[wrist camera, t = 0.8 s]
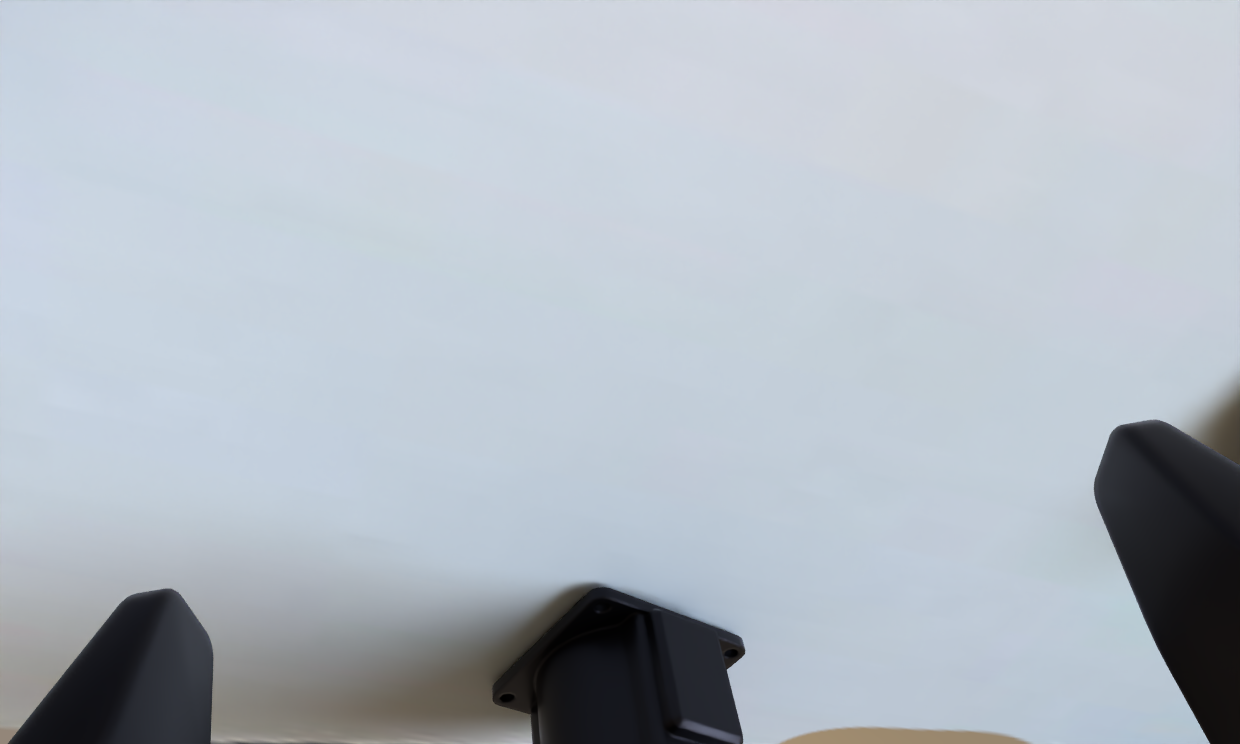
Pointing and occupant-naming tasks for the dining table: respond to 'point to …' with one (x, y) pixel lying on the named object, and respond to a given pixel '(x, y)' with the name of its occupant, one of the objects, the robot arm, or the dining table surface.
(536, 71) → the dining table surface
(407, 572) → the dining table surface
